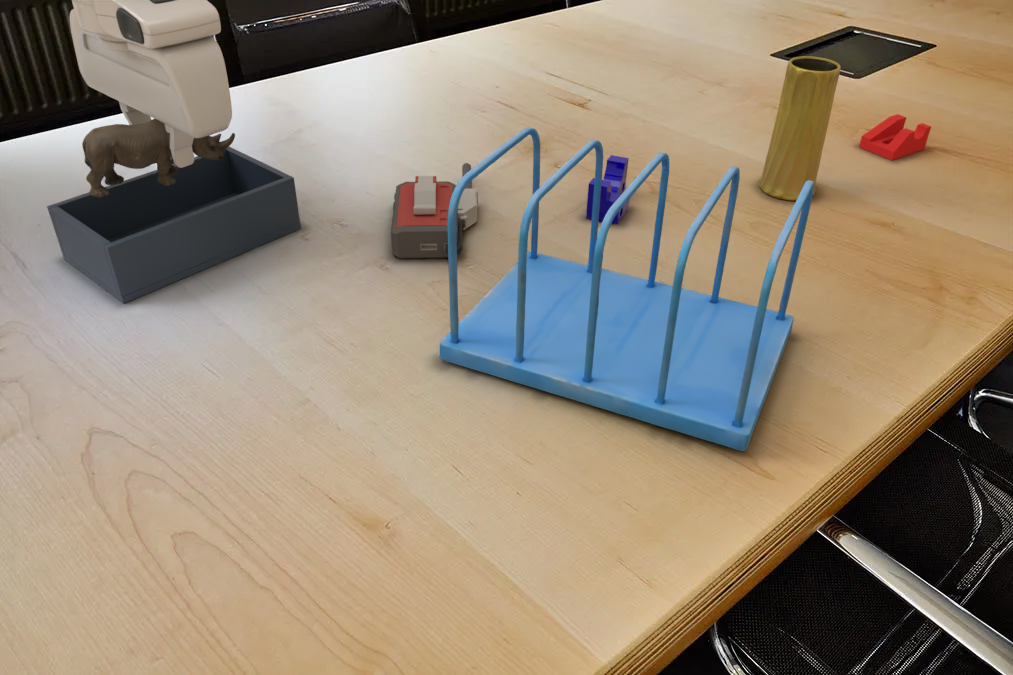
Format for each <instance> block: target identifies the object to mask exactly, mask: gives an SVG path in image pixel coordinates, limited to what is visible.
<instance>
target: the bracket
mask: <svg viewBox="0 0 1013 675" xmlns="http://www.w3.org/2000/svg"><path fill="white" fill-rule="evenodd" d="M906 121H907V116H903V115H901V114H898V113H896V114H894V115H891V116H889V117H887V118H885V119H884V120H883V121H881V122H880V123H878V124H877V125H875V126H874V127H873V128H870V130H868V131H867V132H865V133H864V134H862V135H861V138H860V140H859V141H860V142H859V145H858V147H859V148H860V149H862V150H865V151H867V152H870V153H872V154H874V155H877V156H880V157H882V158H885V159H887V160H889V161H894V160H897V159H900V158H904V157H907V156H909V155H912V154H915V153H917V152H922V151H924V150H925V148H926V145H927V142H928V138H929V136H930V132H931V130H932V126H931V125H929V124H925V123H923V122H921V123H918V124H917V125H916V128H915V129H914V130H912V129H910V128H907V127H906V128H904V127H905V125H906Z"/></svg>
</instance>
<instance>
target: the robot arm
mask: <svg viewBox="0 0 1013 675" xmlns="http://www.w3.org/2000/svg"><path fill="white" fill-rule="evenodd" d="M71 3H72V7H73V8H72V9H71V10H70V12H69V27H70V33H71V37H72V42H73V47H74V48H73V49H74V51H75V56H76V57H75V58H76V60H77V66H78V70H79V72H80V75H81V77H82V78H83V80H84V82H85V84H86V85H87V86H88V87H90V88H91V89H93V90H95V91H97V92H99V93H102V94H104V95H106V96H107V97H109V98H112V99H114V100H116V101H118V103H119V107H120V110H121V112H122V114H123V116H124V118H125V119H126V121H127V123H128V125H136V124H142V123H146V122H148V121H151V120H152V118H153V119H156V120H159V121H161V122H163V123H164V124H165V128H166V131H167V132H168V133H170V145H168V146H165V147H166V152H167V154H168V160H169V162H170V163H172V164H174V165H176V166H177V167H180V168H183V167H186V166H189V165H191V164H193V162H194V157H195V154H194V153H193V150H192V144H193V139H194V138H202V137H205V136H212V135H214V134H217V133H218V134H219V133H221V132H223V131H225V130H228V129H229V127H230V125H231V122H232V119H233V107H232V98H231V91H230V85H229V79H228V73H227V67H226V63H225V58H224V56H223V52H222V50H221V47H220V45H219V43H218V42H217V40H216V39H215V38H214V36H215V35H217V34H220V33H221V31H222V26H221V19H220V14H219V12H218V10H217V8H216V7H215V6H214V5H213V4H212V3H211V2H210V1H208V0H71Z"/></svg>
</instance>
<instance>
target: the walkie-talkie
mask: <svg viewBox="0 0 1013 675" xmlns="http://www.w3.org/2000/svg"><path fill="white" fill-rule="evenodd" d="M461 168H462V169H461V174H462V175H461V176H462V177H463V176H464V175H465V174H466V173H467V172H469V171H470V170H471V169H472V165H471V164H470V163H469V162H464V163H463V164H462V166H461ZM462 177H461V178H462ZM414 178H415V179H414V181H404V182H402V183H399V184H397V185H396V186H395V192H394V196H393V198H394V201H393V204H392V210H393V211H392V212H393V213H392V219H391V220H392V222H391V231H390V240H391V253H392V255H394V256H395V257H396V258H399V259H448V210H449V204H450V200H451V197H452V194H453V192H454V189H455V187H456V185H457V184H456V183H453V182H451V181H446V180H445V181H444V180H443V181H440V180H439V181H437V175H415V176H414ZM478 207H479V190H478V188H473V180H472V181H470V182H469V184H468V185H467V186H466V187H465V189H464V191H463V193H462V195H461V197H460V201H459V205H458V209H457V218H456V238H457V256H458V255H460V254H461V253H462V251H463V231H465V230H466V229H468V228H470V227H471V226H472V225H473V224H476V222H478Z"/></svg>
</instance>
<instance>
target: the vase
mask: <svg viewBox="0 0 1013 675" xmlns="http://www.w3.org/2000/svg"><path fill="white" fill-rule="evenodd" d="M840 73H841V65H840V63H838V62H837V61H835V60H832V59H829V58H825V57H821V56H820V57H819V56H812V55H810V56H809V55H802V56H795V57H792V58H790V59H789V60H788V62H787V65H786V70H785V76H784V80H783V85H782V89H781V95H780V98H779V104H778V108H777V113H776V116H775V121H774V126H773V129H772V134H771V137H770V142H769V146H768V149H767V154H766V158H765V162H764V167H763V170H762V175H761V178H760V179H759V180H760V181H759V188H760V189H761V190H762V192H764V193H765V194H766V195H768V196H770V197H772V198H776V199H779V200H785V201H792V202H793V201H795V202H796V200H797V198H798V196H799V194H800V192H801V190H802V188H803V186H804V184H805V182H806V181H808V180H809V181H813V182H814V190H813V196H814V195H815V194H816V183H817V177H818V173H819V170H820V166H821V159H822V156H823V154H822V153H823V148H824V145H825V141H826V136H827V132H828V127H829V123H830V117H831V113H832V108H833V104H834V100H835V95H836V94H835V93H836V91H837V86H838V83H839V77H840V75H841V74H840Z"/></svg>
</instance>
